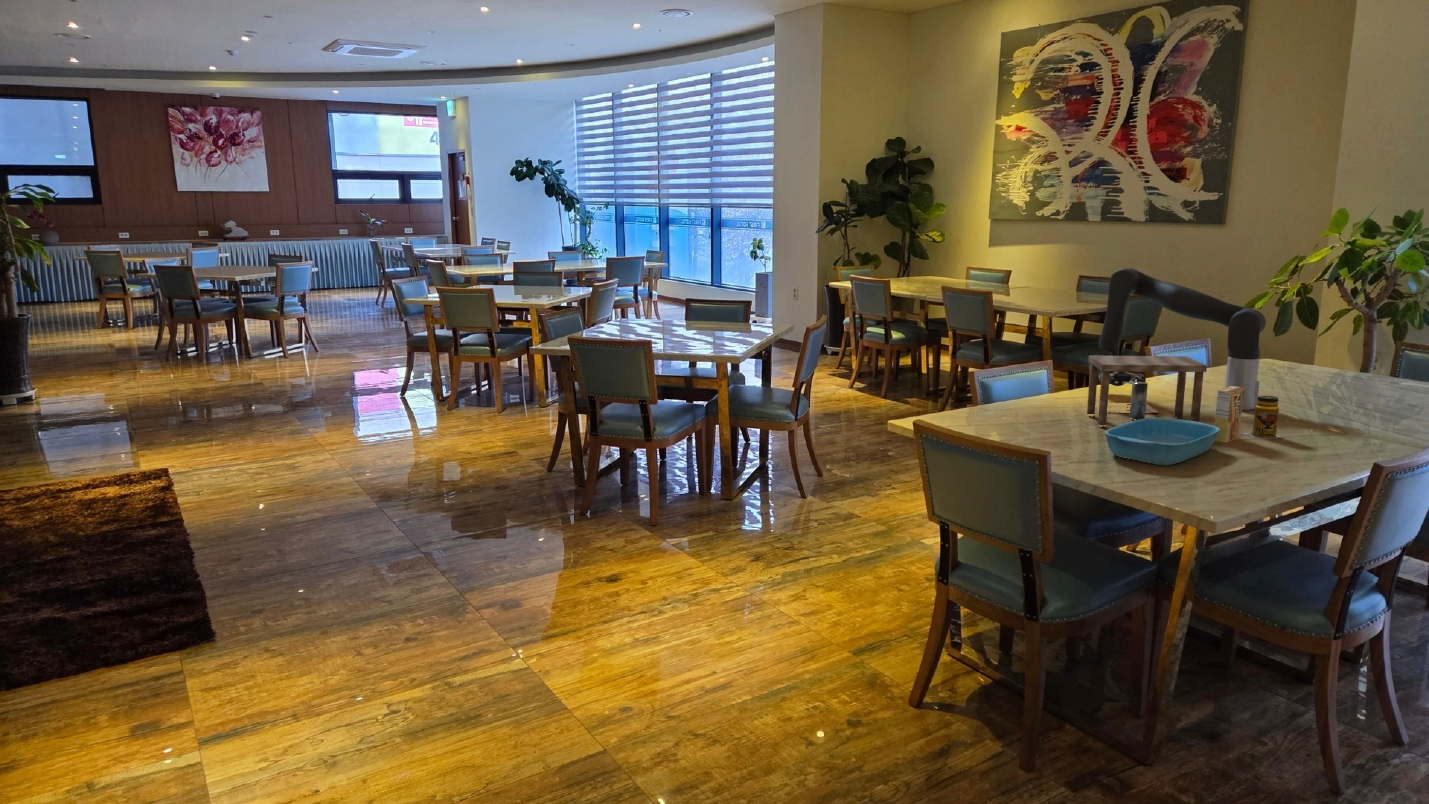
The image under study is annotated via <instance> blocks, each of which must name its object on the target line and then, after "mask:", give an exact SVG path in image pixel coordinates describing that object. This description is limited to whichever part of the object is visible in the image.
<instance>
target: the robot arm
mask: <svg viewBox="0 0 1429 804" xmlns="http://www.w3.org/2000/svg"><path fill="white" fill-rule="evenodd" d="M1108 283H1109V284H1108V295H1107V306H1106V313H1105V315H1104V317H1105V318H1104V321H1103V325H1102V330H1101V333H1100V337H1099V341H1098V347H1099V348H1100V349H1101V350H1104V351H1108V352H1109V353H1110V354H1109V356H1120V345H1121V340H1122V337H1123V332H1124V329H1125V328H1124V326H1125V310H1126V305H1127V302H1128V299H1129V296H1130V295H1135V296H1139V297H1143V298H1147V299H1149V300H1151V301H1153V302H1155V303H1157V304H1158V305H1159V306H1161V307H1163V308H1164V309H1166V310H1168V311H1171V312H1173V313H1176V314H1178V315H1182V316H1185V317H1188V318H1193V319H1197V320H1203V321H1209V322H1212V323H1213V322H1214V323H1218V324H1220V325H1223V326H1225V327H1228V330H1227V332H1228V333H1227V353H1228V355H1227V362H1226V363H1227V364H1226V375H1225V385H1224V388H1226V387H1230V386H1235V387H1242V388H1245V390H1244V399H1243V407H1242V411H1252V410H1255V406H1256V405H1257V401H1258V399H1257V398H1258V397H1259V393H1260V391H1259V390H1260V382H1261V381H1259V380H1258V377H1259V366H1260V358H1261V350H1260V344H1259V343H1260V333H1262V331H1264V329H1265V328H1266V324H1267V321H1266V317H1265V315H1264V314H1263V313H1262V312H1261V311H1259V310H1258V309H1254V308H1250V307H1246V306H1245V307H1244V306H1240V305H1237V304H1234V303H1233V304H1232V303H1229V302H1225V301H1223V300H1221V299H1218V298H1216V297H1214V296H1211V295H1209V294H1206V293H1204V292H1201V291H1198V290H1196V289H1193V288H1189V287H1186V286H1184V285H1181V284H1180V285H1179V284H1176V283H1172V282H1168V281H1163V280H1160V279H1157V278H1155V277H1152V276H1151V275H1149V274H1146V273H1144V272H1141V271H1139V270H1137V269H1134V268H1129V267H1127V268H1120V269H1116V270H1115V271H1114V272H1112V273H1111V275H1110V278H1109V282H1108ZM1093 356H1104V355H1102V354H1093ZM1087 367H1088V370H1089V371H1090V362H1088V361H1087ZM1101 373H1102V371H1101V370H1100V369H1098V375H1097V376H1098V380H1099V382H1100V383H1101ZM1146 379H1147V376H1146V375H1144V374H1142V373H1140V372H1139V373H1137V374H1136V373H1132V372H1130V371H1110V379H1109V385H1112V386H1114V387H1122V386H1124V385H1125V384H1129V385H1132V382H1145V383H1147V382H1146Z"/></svg>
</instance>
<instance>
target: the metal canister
mask: <svg viewBox="0 0 1429 804" xmlns="http://www.w3.org/2000/svg"><path fill="white" fill-rule="evenodd" d="M1148 385H1149V383H1148V382H1146V383H1145V382H1137V381H1136V382H1132V384H1131V394H1130V395H1131V396H1130V397H1131V398H1130V402H1131V407H1130V413H1129V418H1130V417H1131V418H1133V419H1136V420H1139V419H1144V418H1146V414H1145V412H1146V404H1147V400H1148V399H1147V398H1148V388H1149V387H1148Z"/></svg>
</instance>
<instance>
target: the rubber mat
mask: <svg viewBox="0 0 1429 804" xmlns="http://www.w3.org/2000/svg"><path fill="white" fill-rule="evenodd" d="M1127 405H1131V404H1127ZM1127 408H1128V407H1127ZM1127 411H1130V410H1127ZM1146 412H1149V413H1158V414H1159V411H1158V410H1157V409H1155V408H1153V407H1152V406H1150V405H1149V404H1148V403H1146Z"/></svg>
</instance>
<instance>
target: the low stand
mask: <svg viewBox="0 0 1429 804" xmlns="http://www.w3.org/2000/svg"><path fill="white" fill-rule="evenodd" d="M1088 362H1090V370H1089V379H1088V380H1089V381H1088V391H1087V392H1088V393H1087V409H1086V415H1087V414H1095V415H1096V408H1095V405H1096V402H1097V390H1098V389H1097V387H1098V385H1097V384H1098V376H1099V375H1098V369H1100V370H1101V371H1102V373H1101V382H1100V387H1099V388H1100V390H1099V392H1100V393H1099V401H1098V402H1099V411H1098V417H1097V418H1098V419H1097V420H1098V421H1097V425H1098V424H1100V425H1106V426H1107V418H1108V413H1107V407H1108V402H1109V391H1110V383H1109V379H1110V371H1129V372H1139V373H1140V372H1147V373H1148V372H1150V373H1151V372H1153V373H1154V372H1157V373H1158V372H1159V373H1161V372H1163V373H1171V372H1172V373H1177V381H1176V389H1175V390H1176V392H1175V403H1174V417H1177V418H1182V419H1183V415H1184V406H1185V405H1184V404H1185V403H1184V402H1185V393H1186V392H1185V391H1186V383H1187V373H1194V375H1193V387H1192V398H1191V399H1192V400H1191V412H1190V420H1189V421H1195V422H1200V417H1201V415H1200V414H1201V407H1202V406H1201V405H1202V393H1203V382H1204V373H1207V368H1208V366H1207V364H1204V363H1202V362H1200V361H1198V360H1196V359H1193V358H1192V357H1189V356H1185V355H1180V356H1179V355H1178V356H1177V355H1175V356H1174V355H1173V356H1172V355H1171V356H1170V355H1119V356H1110V355H1103V356H1094V355H1088V361H1087V363H1088ZM1174 417H1173V418H1174ZM1177 418H1176V419H1177Z"/></svg>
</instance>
